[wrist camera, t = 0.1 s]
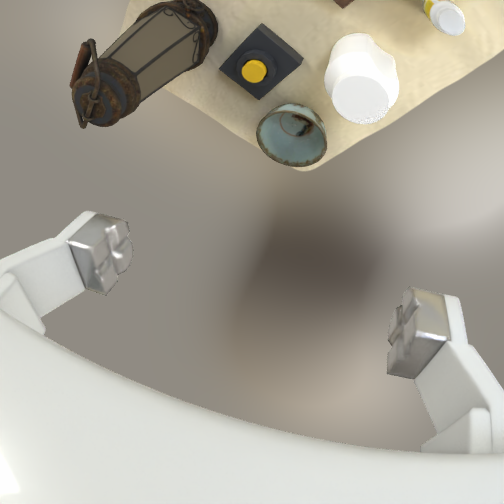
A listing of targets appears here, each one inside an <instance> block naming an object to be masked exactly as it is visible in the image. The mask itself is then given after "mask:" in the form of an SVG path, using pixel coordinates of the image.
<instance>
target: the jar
mask: <svg viewBox="0 0 504 504" xmlns="http://www.w3.org/2000/svg"><path fill="white" fill-rule="evenodd" d="M324 84H325V89H326V91H327V93H328V94H329V96H330V97H331V98H332V102H333V105H334V107H335V109H336V110H337V112H338V113H339V114H340V115H341V116H342V117H344V118H345V119H347V120H349V121H351V122H354V123H358V124H370V123H374V122H376V121H378V120H380V119H381V118H383V117H384V116H385V114H386V113H387V111H388V109H389V108H390V107H391V106H392V105H393V104H394V103H395V101H396V99H397V97H398V93H399V82H398V79H397V73H396V66H395V59H394V58H393V57H392V56H391V55H390V54H388V53H387V52H385V51H384V50H382V49H381V48H380V47H379V46H378V45H377V44H376V43H375V42H374V41H373V39H372V38H371V37H370V36H369V35H368V34H366V33H353V34H349V35H346V36H344V37H342V38H341V39H339V40H338V41H337V42H336V44H335V45H334V47H333V49H332V51H331V55H330V61H329V64H328V67H327V69H326V72H325V77H324Z"/></svg>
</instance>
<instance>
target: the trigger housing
mask: <svg viewBox="0 0 504 504" xmlns="http://www.w3.org/2000/svg"><path fill="white" fill-rule="evenodd" d="M250 60H259V61H261V62H262V63H264V65H265V66H266V69H267V72H266V75H265V76H264V78H263V79H262V80H261V81H260V82H257V83H252V82H249V81H247V80H246V79H245V78H244V77H243V75H242V68H243V67H244V65H245V64H246V63H247V62H248V61H250ZM302 61H303V57H302V56H301V55H300V54H298V53H297V52H296V51H295V50H294V49H293V48H292V47H290V46H289V45H288V44H287V43H286V42H285V41H283V40H282V39H281V38H280V37H279V36H277V35H276V34H275V33H274V32H272V31H271V30H270V29H269V28H267V27H266V26H265V25H264V24H262V23H261V24H260V25H259V26H258V27H257V28H256V29H255V30H254V31H253V32H252V34H251V35H250V36H249V37H248V38H247V39H246V40H245V41H244V42H243V43H242V44H241V45H240V46H239V47H238V48H237V49H236V50H235V51H234V52H233V54H232V55H231V56H230V57H229V58H228V59H227V60H226V61H225V62H224V63H223V65H222V66H221V67H220V68H219V70H221V71H222V72H223V73H225V74H226V75H227V76H228V77H230V78H231V79H232V80H234V81H235V82H236V83H238V84H239V85H240V86H241V87H243V88H244V89H245V90H246V91H248V92H249V93H250V94H251V95H253V96H254V97H255V98H256V99H258V100H260V99H261V98H262V97H263V96H264V95H265V94H267V93H268V92H269V91H270V90H271V89H272V88H274V87H275V86H276V85H277V84H278V83H279V82H281V81H282V80H283V79H284V78H285V77H286V76H288V75H289V74H290V73H291V72H292V71H294V70H295V69H296V68H297V67H298V66H300V65H301V63H302Z"/></svg>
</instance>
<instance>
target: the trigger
mask: <svg viewBox="0 0 504 504" xmlns="http://www.w3.org/2000/svg"><path fill="white" fill-rule="evenodd" d="M266 72H267V69H266V66H265V65H264V63H262V62H261V61H259V60H250V61H248V62H247V63H246V64H245V65H244V67H243V68H242V75H243V77H244V78H245V79H246V80H247V81H249V82H252V83H257V82H260V81H261V80H262V79H263V78H264V76H265V75H266Z"/></svg>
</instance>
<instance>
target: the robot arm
mask: <svg viewBox="0 0 504 504" xmlns="http://www.w3.org/2000/svg"><path fill="white" fill-rule="evenodd" d="M129 232H130V230H129V226H128V223H127V222H126V221H124V220H123V219H119V218H115V217H112V216H108V215H104V214H99V213H95V212H92V211H85V212H83V213H82V214H81V215H80V216H78V217H77V218H76V219H75V220H74V221H73V222H72V223H71V224H70V225H68V226H67V227H66V228H65V229H64V230H63V231H62V232H61V233H60V234H59V235H58V236H57V237H56V238H54V239H53V238H50V239H47V240H45V241H42V242H40V243H38V244H35V245H33V246H31V247H28V248H26V249H23V250H21V251H19V252H17V253H14V254H12V255H10V256H7V257H5V258H3V259H1V260H0V504H504V390H503V389H502V387H501V386H500V384H499V383H498V381H497V380H496V378H495V377H494V375H493V374H492V372H491V371H490V370H489V368H488V367H487V365H486V364H485V362H484V361H483V360H482V358H481V357H480V355H479V354H478V353H477V351H476V350H475V348H474V347H473V346H472V345H468V341H467V336H466V330H465V324H464V320H463V314H462V310H461V305H460V300H459V299H458V298H457V297H454V296H449V295H445V294H439V293H434V292H430V291H426V290H421V289H417V288H413V287H408V289H407V290H406V291H405V293H404V295H403V297H402V300H403V305H401V306H399V307H397V308H396V310H395V312H394V314H393V316H392V318H391V322H390V325H389V332H388V341H389V342H390V344H391V346H392V348H391V349H390V351H389V352H388V358H387V374H390V375H394V376H399V377H405V378H409V379H415V380H414V383H415V385H416V387H417V389H418V391H419V394H420V396H421V398H422V400H423V402H424V404H425V407H426V409H427V411H428V414H429V416H430V418H431V420H432V423H433V425H434V427H435V430H436V432H437V435H436V436H434V437H433V438H431V439H430V440H428V441H427V442H425V443H424V444H423V445H422V446H421V448H420V452H409V451H398V450H389V449H380V448H371V447H365V446H358V445H351V444H345V443H339V442H333V441H328V440H322V439H318V438H313V437H308V436H303V435H299V434H294V433H290V432H286V431H281V430H277V429H273V428H270V427H265V426H262V425H258V424H254V423H251V422H247V421H244V420H240V419H237V418H234V417H230V416H227V415H224V414H221V413H218V412H215V411H212V410H209V409H205V408H203V407H200V406H197V405H194V404H191V403H188V402H186V401H183V400H180V399H178V398H175V397H172V396H170V395H167V394H164V393H162V392H159V391H157V390H154V389H152V388H149V387H147V386H145V385H142V384H140V383H138V382H135V381H133V380H131V379H128V378H126V377H124V376H122V375H119V374H117V373H115V372H113V371H111V370H109V369H107V368H104V367H102V366H100V365H98V364H96V363H94V362H92V361H90V360H88V359H86V358H84V357H82V356H80V355H78V354H76V353H74V352H73V351H71V350H69V349H67V348H65V347H63V346H61V345H60V344H58V343H56V342H54V341H52V340H51V339H49V338H47V337H45V336H44V335H43V334H44V333H45V331H46V328H45V326H44V324H43V322H42V321H41V319H40V318H41V317H42V316H44V315H46V314H47V313H49V312H50V311H52V310H54V309H55V308H57V307H58V306H60V305H62V304H63V303H65V302H67V301H68V300H70V299H71V298H73V297H75V296H76V295H78V294H79V293H81V292H83V291H85V289H88V290H91V291H94V292H96V293H99V294H102V295H105V296H106V295H107V294H108V293H109V292H110V290H111V289H112V288H113V286H114V285H115V284H116V282H117V275H119V274H121V273H123V272H125V271H126V270H127V268H128V267H129V266H130V264H131V261H132V258H133V245H132V242H131V241H130V239H129V238H128V237H127V235H128V233H129Z"/></svg>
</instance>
